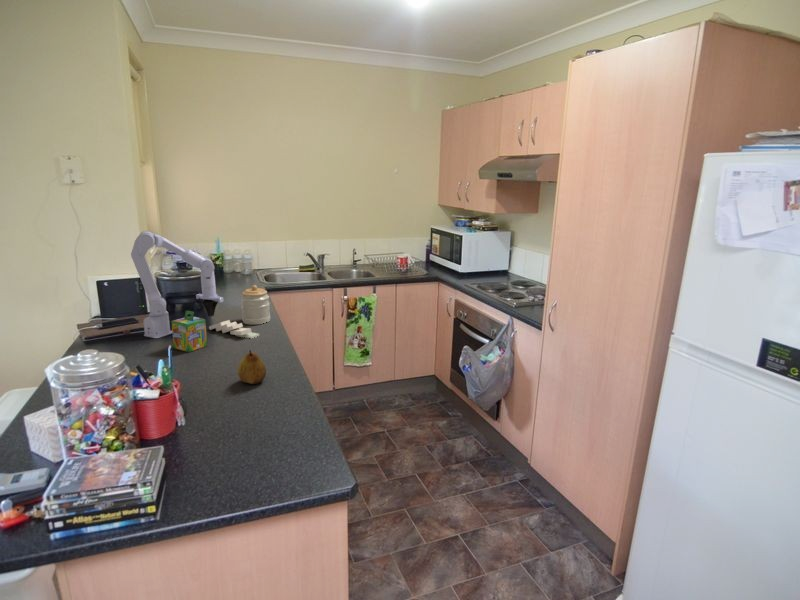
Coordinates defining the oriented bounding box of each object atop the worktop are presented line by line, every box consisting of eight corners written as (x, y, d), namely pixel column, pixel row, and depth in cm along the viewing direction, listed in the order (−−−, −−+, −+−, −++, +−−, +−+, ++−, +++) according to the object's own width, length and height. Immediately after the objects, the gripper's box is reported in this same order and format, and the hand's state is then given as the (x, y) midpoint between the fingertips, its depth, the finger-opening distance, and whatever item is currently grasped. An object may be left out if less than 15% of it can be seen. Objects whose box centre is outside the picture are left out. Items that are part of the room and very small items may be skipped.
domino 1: (218, 327, 212) (230, 323, 207) (209, 330, 208) (221, 325, 203) (217, 324, 212) (229, 319, 207) (208, 326, 208) (220, 322, 203)
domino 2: (226, 328, 210) (237, 324, 205) (216, 331, 206) (227, 327, 201) (224, 325, 210) (236, 321, 205) (215, 328, 206) (226, 323, 201)
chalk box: (173, 348, 185) (169, 312, 181) (192, 342, 192) (189, 307, 189) (189, 353, 180) (185, 316, 177) (208, 346, 188) (205, 310, 185)
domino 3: (232, 330, 208) (242, 326, 202) (222, 333, 204) (233, 329, 198) (231, 327, 208) (241, 322, 202) (221, 329, 204) (232, 325, 198)
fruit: (250, 374, 161) (248, 341, 158) (271, 379, 158) (270, 345, 155) (232, 384, 153) (229, 349, 150) (255, 389, 150) (252, 353, 147)
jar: (274, 318, 228) (272, 282, 224) (264, 325, 216) (262, 288, 212) (248, 317, 230) (246, 281, 225) (237, 324, 217) (234, 287, 213)
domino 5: (243, 334, 206) (259, 337, 202) (235, 337, 201) (251, 340, 198) (243, 330, 205) (259, 333, 201) (235, 333, 201) (251, 336, 197)
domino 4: (240, 331, 205) (251, 332, 199) (230, 334, 202) (241, 335, 196) (239, 327, 205) (250, 328, 199) (229, 330, 201) (240, 331, 195)
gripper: (227, 286, 206) (229, 315, 210) (203, 283, 212) (206, 311, 216) (215, 289, 200) (217, 319, 204) (191, 285, 206) (194, 315, 210)
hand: (211, 315), depth 209 cm, fingers closed
